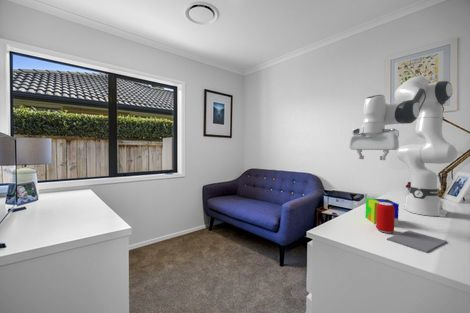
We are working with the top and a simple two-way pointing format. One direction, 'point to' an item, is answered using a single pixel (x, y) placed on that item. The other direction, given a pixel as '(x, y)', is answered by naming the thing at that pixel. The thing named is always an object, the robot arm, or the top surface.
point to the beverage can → (385, 217)
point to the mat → (417, 241)
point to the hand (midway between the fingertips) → (371, 159)
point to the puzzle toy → (372, 209)
